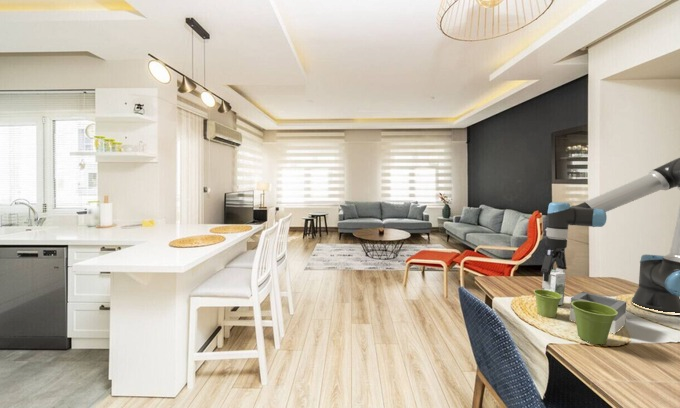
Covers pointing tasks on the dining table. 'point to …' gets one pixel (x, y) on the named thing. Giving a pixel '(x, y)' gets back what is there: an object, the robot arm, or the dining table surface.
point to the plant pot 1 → (547, 302)
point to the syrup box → (557, 283)
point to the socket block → (613, 303)
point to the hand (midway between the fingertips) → (552, 285)
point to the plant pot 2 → (593, 321)
